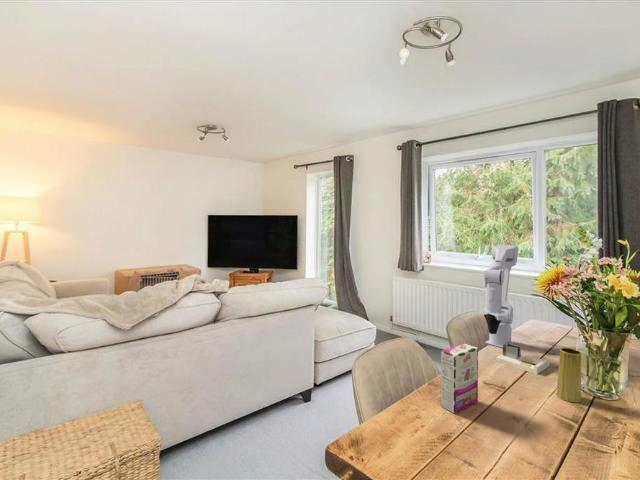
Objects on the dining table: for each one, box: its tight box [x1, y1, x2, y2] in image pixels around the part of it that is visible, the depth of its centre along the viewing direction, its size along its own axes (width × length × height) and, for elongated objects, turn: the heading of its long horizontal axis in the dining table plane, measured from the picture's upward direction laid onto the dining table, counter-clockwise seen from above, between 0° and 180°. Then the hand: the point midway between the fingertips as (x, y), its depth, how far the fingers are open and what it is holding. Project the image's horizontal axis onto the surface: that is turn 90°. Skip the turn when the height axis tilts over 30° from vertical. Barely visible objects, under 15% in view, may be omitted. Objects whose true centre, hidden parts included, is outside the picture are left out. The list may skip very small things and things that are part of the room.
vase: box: [556, 347, 582, 403], centre depth 102 cm, size 6×6×14 cm
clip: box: [501, 342, 522, 359], centre depth 130 cm, size 4×5×5 cm
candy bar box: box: [440, 343, 479, 415], centre depth 97 cm, size 11×5×16 cm, turn 123°
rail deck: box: [495, 352, 551, 375], centre depth 127 cm, size 12×14×2 cm
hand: (492, 333), depth 135 cm, fingers closed
